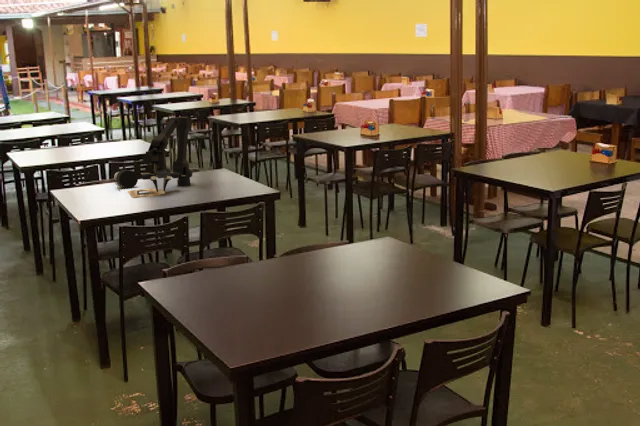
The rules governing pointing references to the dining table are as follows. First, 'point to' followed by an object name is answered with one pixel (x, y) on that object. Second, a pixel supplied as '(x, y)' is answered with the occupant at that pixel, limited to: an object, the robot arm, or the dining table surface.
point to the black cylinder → (126, 178)
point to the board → (137, 195)
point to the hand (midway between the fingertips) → (160, 191)
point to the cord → (160, 191)
